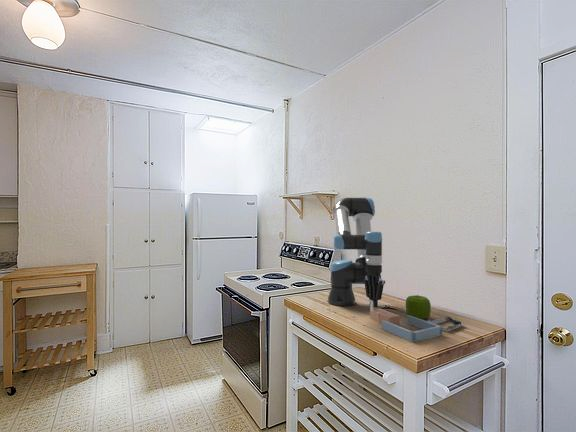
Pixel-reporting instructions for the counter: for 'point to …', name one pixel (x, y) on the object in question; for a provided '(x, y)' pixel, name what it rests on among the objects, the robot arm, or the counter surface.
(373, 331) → the counter surface
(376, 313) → the terracotta tile
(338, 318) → the counter surface
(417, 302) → the apple
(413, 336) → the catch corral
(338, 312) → the counter surface
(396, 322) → the terracotta tile
